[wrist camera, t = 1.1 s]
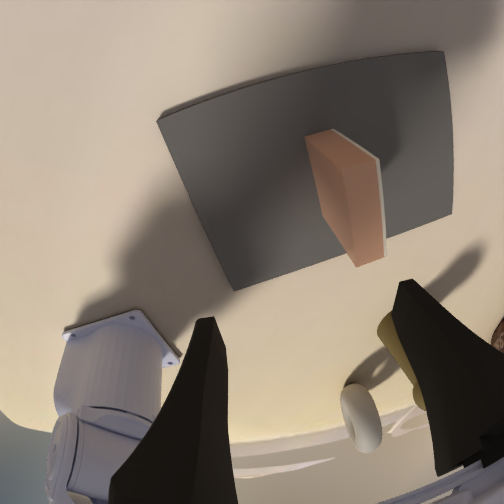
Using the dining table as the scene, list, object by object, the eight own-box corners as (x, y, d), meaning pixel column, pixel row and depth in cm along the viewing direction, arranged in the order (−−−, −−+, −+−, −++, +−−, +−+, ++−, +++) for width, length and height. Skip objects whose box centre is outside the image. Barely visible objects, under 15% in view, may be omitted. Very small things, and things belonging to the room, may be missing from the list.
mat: (233, 286, 25) (233, 291, 25) (157, 119, 17) (156, 121, 17) (448, 210, 24) (451, 213, 24) (438, 50, 16) (443, 51, 16)
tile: (322, 216, 22) (356, 267, 17) (304, 136, 19) (341, 170, 14) (348, 207, 22) (387, 255, 17) (333, 128, 18) (379, 158, 14)
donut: (359, 399, 42) (380, 455, 34) (337, 406, 42) (356, 464, 34) (362, 365, 36) (390, 433, 28) (336, 374, 36) (361, 444, 28)
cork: (366, 338, 32) (405, 422, 23) (399, 298, 30) (451, 384, 21) (401, 341, 34) (439, 415, 25) (432, 306, 31) (480, 380, 23)
